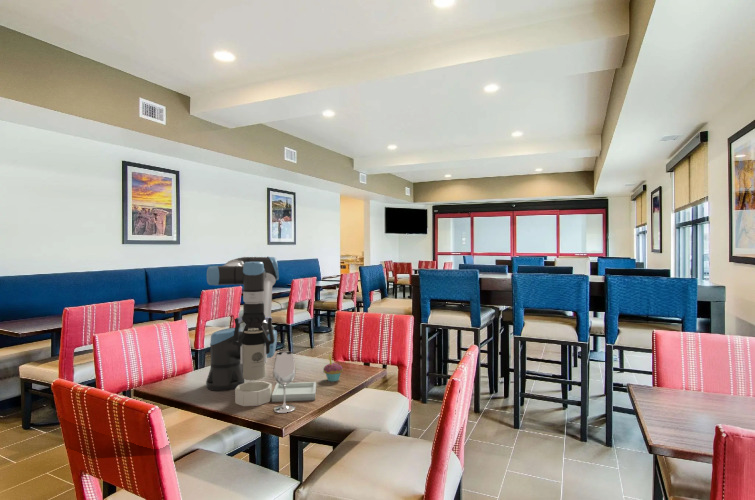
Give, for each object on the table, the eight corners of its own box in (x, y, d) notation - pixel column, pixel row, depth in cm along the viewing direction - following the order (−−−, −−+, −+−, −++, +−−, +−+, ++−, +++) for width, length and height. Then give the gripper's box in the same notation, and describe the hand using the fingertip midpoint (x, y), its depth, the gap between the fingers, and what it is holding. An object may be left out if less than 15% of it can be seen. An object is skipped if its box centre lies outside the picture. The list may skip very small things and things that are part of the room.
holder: (232, 406, 150) (232, 392, 150) (240, 394, 163) (240, 381, 163) (268, 405, 152) (268, 391, 152) (273, 393, 164) (273, 380, 164)
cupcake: (330, 384, 175) (330, 355, 175) (319, 379, 182) (319, 352, 182) (346, 380, 181) (346, 352, 181) (335, 375, 187) (335, 349, 187)
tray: (271, 401, 155) (271, 395, 155) (276, 389, 169) (276, 383, 169) (314, 400, 157) (314, 393, 157) (316, 387, 171) (316, 381, 171)
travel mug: (242, 375, 160) (242, 329, 160) (263, 373, 163) (263, 327, 163) (243, 382, 152) (243, 333, 152) (266, 379, 155) (265, 331, 155)
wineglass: (287, 414, 143) (287, 356, 143) (268, 411, 146) (268, 354, 146) (299, 406, 150) (299, 351, 150) (281, 403, 153) (281, 349, 153)
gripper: (222, 304, 152) (223, 366, 153) (280, 303, 155) (280, 364, 155) (227, 301, 160) (228, 360, 160) (282, 300, 162) (282, 359, 162)
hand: (253, 362), depth 157 cm, fingers closed on travel mug, 8 cm apart
